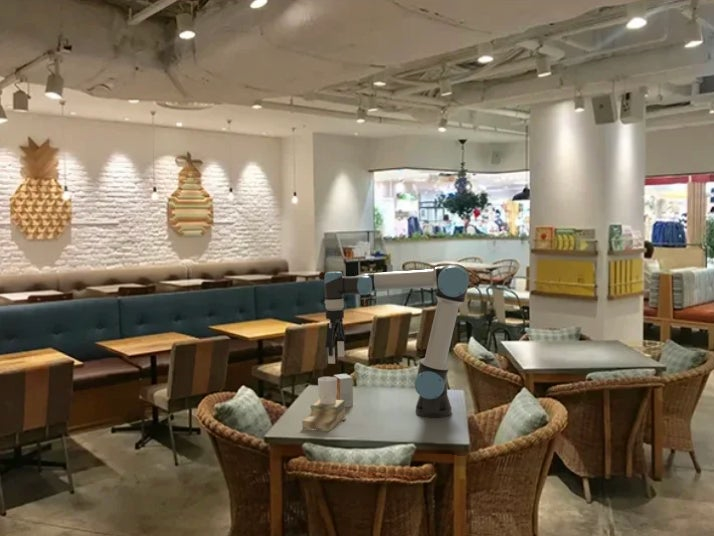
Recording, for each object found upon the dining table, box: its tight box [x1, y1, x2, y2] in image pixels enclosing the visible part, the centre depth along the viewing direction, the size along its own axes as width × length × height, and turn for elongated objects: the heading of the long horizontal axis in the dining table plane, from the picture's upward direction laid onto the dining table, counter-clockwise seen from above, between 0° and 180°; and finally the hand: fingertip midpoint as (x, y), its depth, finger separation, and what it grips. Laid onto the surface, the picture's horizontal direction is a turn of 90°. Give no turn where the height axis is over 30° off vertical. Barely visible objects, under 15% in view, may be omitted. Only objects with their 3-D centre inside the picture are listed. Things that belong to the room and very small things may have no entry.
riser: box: [301, 398, 347, 432], centre depth 264 cm, size 13×20×7 cm, turn 163°
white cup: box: [317, 376, 337, 405], centre depth 268 cm, size 8×8×10 cm
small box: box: [332, 373, 354, 408], centre depth 290 cm, size 8×6×13 cm
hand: (336, 360), depth 270 cm, fingers open, 13 cm apart
